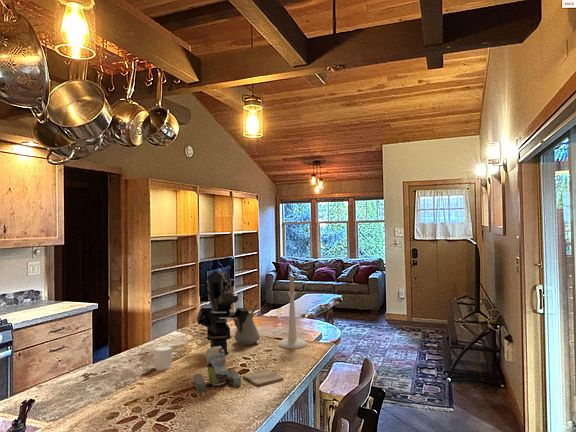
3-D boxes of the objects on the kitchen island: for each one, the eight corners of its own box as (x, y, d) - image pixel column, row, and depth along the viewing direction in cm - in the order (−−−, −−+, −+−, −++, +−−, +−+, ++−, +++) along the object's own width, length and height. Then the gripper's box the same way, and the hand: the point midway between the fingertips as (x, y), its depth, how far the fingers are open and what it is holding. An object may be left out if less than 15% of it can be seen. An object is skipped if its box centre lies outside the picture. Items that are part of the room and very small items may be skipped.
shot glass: (176, 365, 150) (176, 346, 150) (163, 371, 143) (163, 351, 144) (162, 363, 152) (162, 344, 153) (149, 368, 146) (149, 349, 147)
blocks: (193, 382, 132) (193, 374, 132) (233, 376, 137) (233, 369, 137) (198, 392, 124) (198, 384, 124) (240, 385, 129) (240, 377, 129)
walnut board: (243, 377, 136) (243, 375, 136) (267, 371, 142) (267, 369, 142) (258, 386, 128) (257, 384, 128) (283, 379, 134) (283, 377, 134)
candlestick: (301, 350, 168) (300, 278, 169) (273, 347, 172) (273, 278, 174) (310, 342, 180) (309, 275, 181) (284, 339, 184) (283, 275, 186)
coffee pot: (255, 347, 173) (254, 312, 174) (230, 345, 176) (230, 311, 176) (268, 334, 194) (268, 304, 195) (246, 333, 196) (246, 303, 197)
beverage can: (224, 388, 127) (223, 350, 127) (202, 386, 128) (202, 349, 129) (230, 381, 133) (230, 345, 133) (210, 379, 134) (210, 344, 135)
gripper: (200, 285, 144) (211, 316, 132) (246, 286, 154) (260, 315, 142) (192, 308, 148) (201, 339, 137) (237, 307, 158) (250, 337, 146)
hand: (229, 332), depth 140 cm, fingers open, 9 cm apart
